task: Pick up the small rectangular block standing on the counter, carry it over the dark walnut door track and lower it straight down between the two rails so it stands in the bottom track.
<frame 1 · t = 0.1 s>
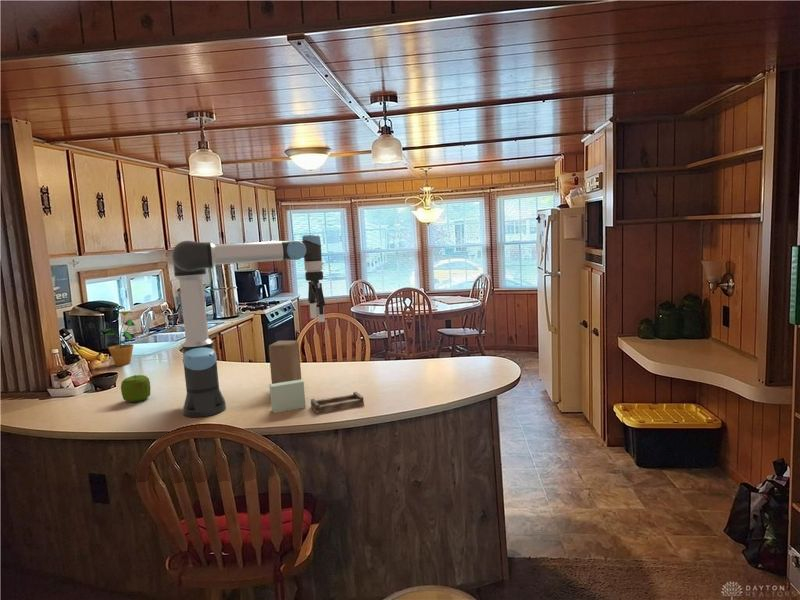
hand: (317, 320, 229), 28 cm above the countertop, fingers open, 13 cm apart
wooden block: (287, 388, 227), on the countertop
rectangular block: (288, 408, 199), on the countertop
potted plant: (123, 364, 293), on the countertop
apple: (137, 400, 221), on the countertop
track: (337, 405, 199), on the countertop
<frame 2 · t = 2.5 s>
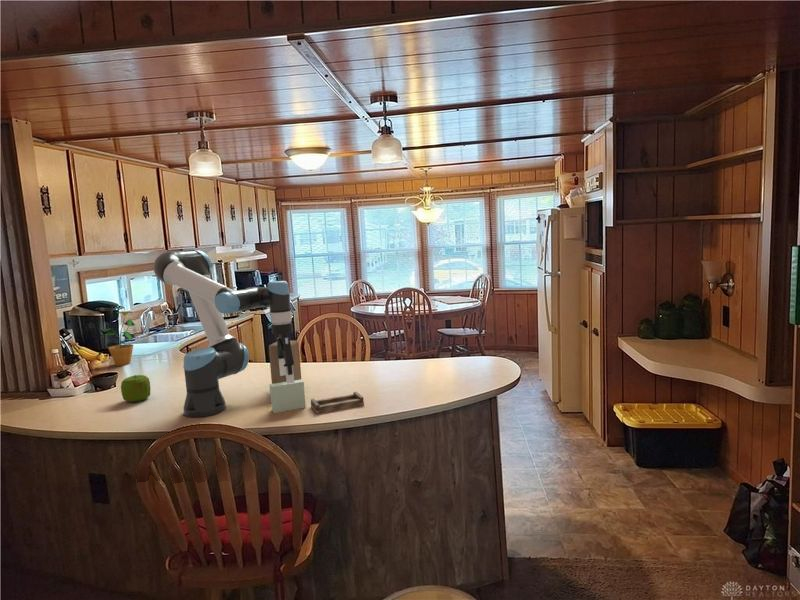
hand: (287, 379, 198), 11 cm above the countertop, fingers open, 13 cm apart
nothing on the countertop moved.
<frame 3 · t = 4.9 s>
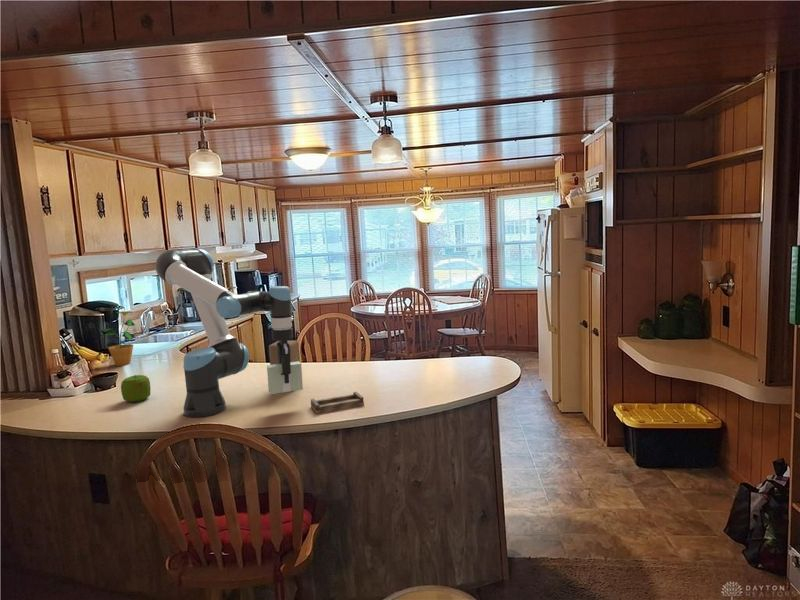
hand: (285, 389, 199), 7 cm above the countertop, fingers closed on rectangular block, 4 cm apart
rectangular block: (285, 390, 199), point 7 cm above the countertop, touching gripper
everything else where it was.
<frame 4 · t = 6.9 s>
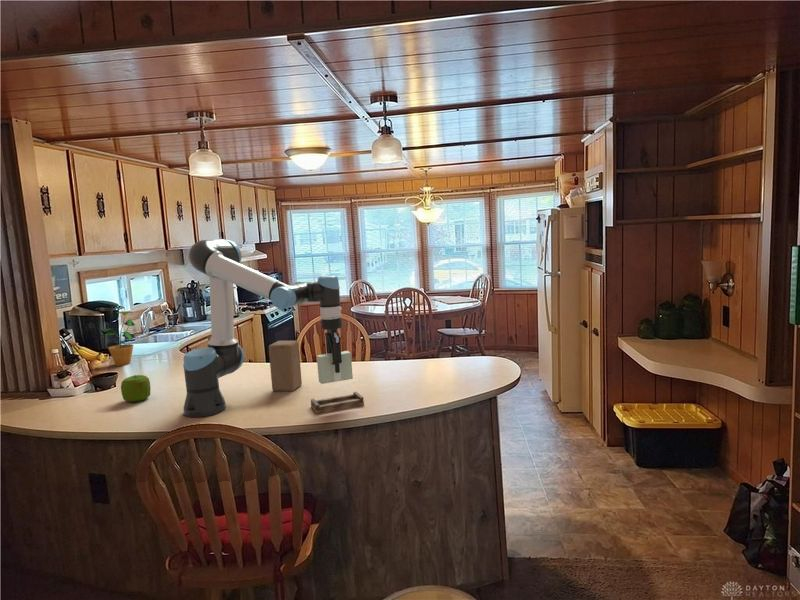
hand: (335, 379, 198), 10 cm above the countertop, fingers closed on rectangular block, 4 cm apart
rectangular block: (335, 380, 198), point 10 cm above the countertop, touching gripper
everything else where it was.
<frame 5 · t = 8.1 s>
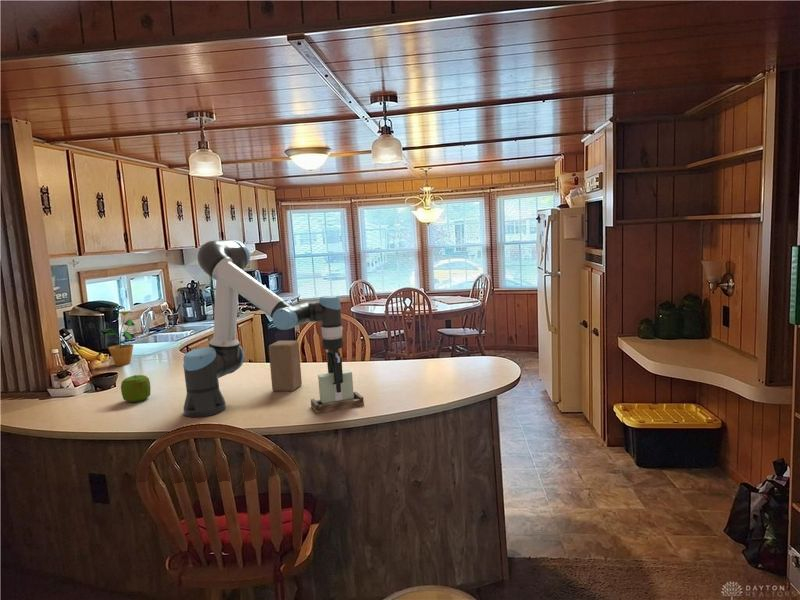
hand: (337, 398, 199), 3 cm above the countertop, fingers closed on rectangular block, 4 cm apart
rectangular block: (337, 399, 199), point 3 cm above the countertop, touching gripper
everything else where it was.
when the fingers open (3 cm above the countertop, at t = 9.1 s): rectangular block drops 1 cm, resting on track.
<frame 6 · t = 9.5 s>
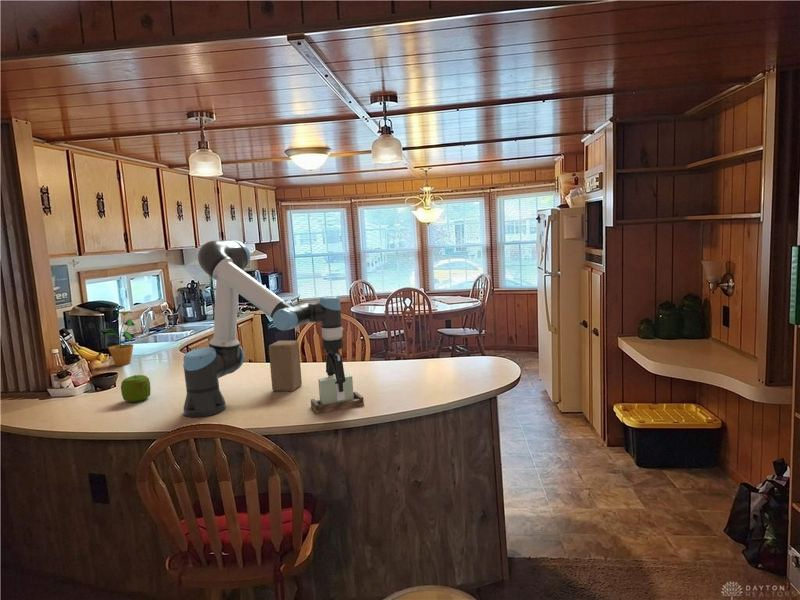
hand: (336, 395, 199), 4 cm above the countertop, fingers open, 10 cm apart
rectangular block: (337, 403, 199), point 1 cm above the countertop, touching track
everything else where it was.
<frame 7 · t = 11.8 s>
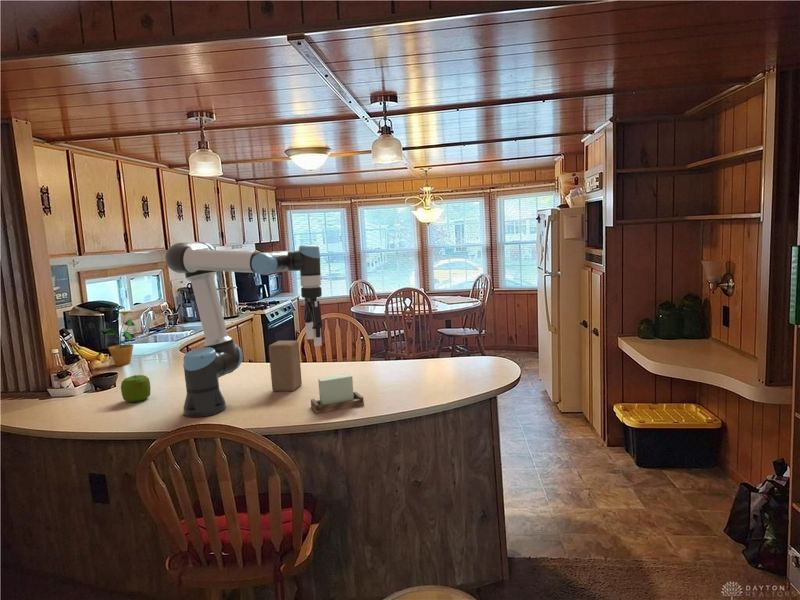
hand: (313, 342, 201), 24 cm above the countertop, fingers open, 13 cm apart
nothing on the countertop moved.
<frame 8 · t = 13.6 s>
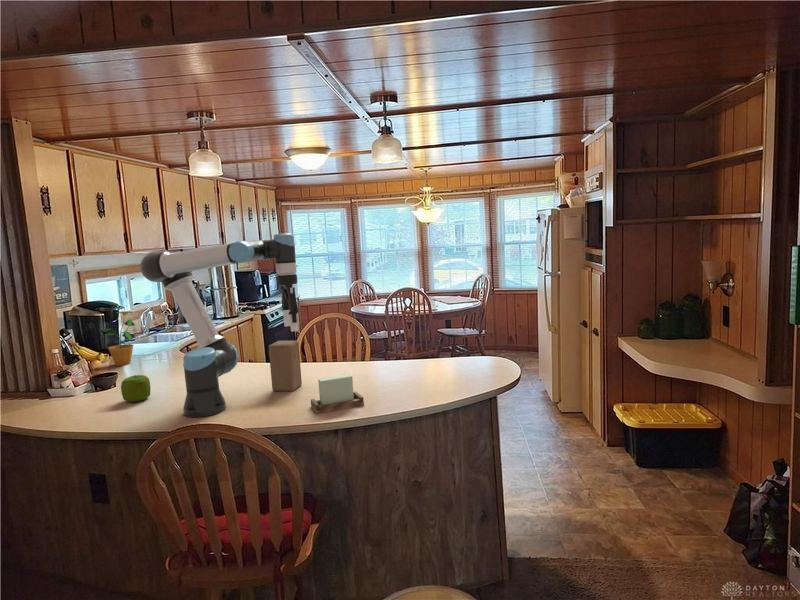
hand: (291, 328, 206), 29 cm above the countertop, fingers open, 13 cm apart
nothing on the countertop moved.
at the end: rectangular block inside the target area on the track (0.1 cm from its centre), point 1.0 cm above the track's base; rectangular block tilted 0°; the gripper is holding nothing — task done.
